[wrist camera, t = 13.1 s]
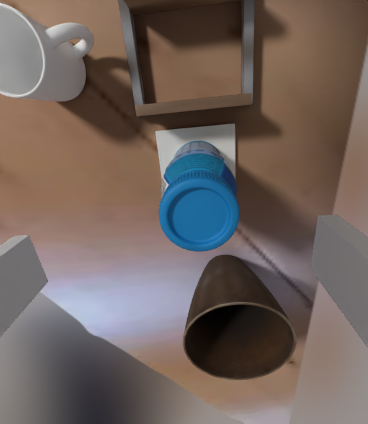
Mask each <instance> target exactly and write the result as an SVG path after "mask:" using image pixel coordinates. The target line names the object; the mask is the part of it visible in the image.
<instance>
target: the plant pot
mask: <svg viewBox="0 0 368 424" xmlns="http://www.w3.org/2000/svg"><path fill="white" fill-rule="evenodd" d="M183 347H184V351H185V354H186V355H187V357H188V359H189V360H190V361H191V363H192V364H193V365H194V366H196V367H197V368H198V369H199V370H201V371H203V372H205V373H207V374H209V375H211V376H214V377H218V378H222V379H228V380H248V379H254V378H258V377H262V376H265V375H268V374H270V373H272V372H274V371H276V370H277V369H279V368H280V367H282V366H283V365H284V364H285V363H286V362H287V361H288V360H289V359H290V358H291V356H292V354H293V353H294V350H295V347H296V333H295V330H294V327H293V325H292V324H291V322H290V321H289V319H288V317H287V316H286V314H285V313H284V311H283V310H282V308H281V307H280V305H279V304H278V302H277V301H276V299H275V298H274V297H273V295H272V294H271V292H270V291H269V290H268V289H267V287H266V286H265V285H264V284H263V283H262V281H261V280H260V279H259V278H258V277H257V276H256V275H255V274H254V273H253V271H252V270H250V269H249V268H248V267H247V266H246V265H245V264H244V263H243V262H242V261H240V260H239V259H238V258H236V257H234V256H231V255H220V256H217V257H215V258H213V259H212V260H211V261H210V262H209V263H208V264H207V266H206V268H205V269H204V271H203V273H202V275H201V277H200V279H199V282H198V284H197V287H196V289H195V292H194V295H193V298H192V302H191V305H190V309H189V313H188V318H187V322H186V327H185V332H184V337H183Z"/></svg>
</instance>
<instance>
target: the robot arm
mask: <svg viewBox="0 0 368 424" xmlns="http://www.w3.org/2000/svg"><path fill="white" fill-rule="evenodd" d="M310 269H311V270H312V271H313V273H314V274H315V275H316V277H317V278H318V280H319V281H320V282H321V284H322V285H323V286H324V287H325V289H326V291H327V292H328V293H329V295H330V296H331V297H332V299H333V300H334V302H335V303H336V304H337V306H338V307H339V309H340V310H341V311H342V313H343V314H344V315H345V317H346V318H347V319H348V321H349V322H350V324H351V325H352V326H353V328H354V329H355V330H356V332H357V333H358V335H359V336H360V337H361V339H362V340H363V341H364V343H365V344H366V346H367V347H368V237H367V236H365V235H364V234H363V233H361V232H360V231H359V230H357V229H356V228H355V227H353V226H352V225H350V224H349V223H348V222H346V221H345V220H344V219H342V218H341V217H340V216H338V215H322V216H318V220H317V227H316V234H315V241H314V247H313V254H312V261H311V268H310ZM47 282H48V280H47V277H46V275H45V272H44V270H43V268H42V265H41V263H40V260H39V258H38V256H37V253H36V251H35V248H34V246H33V244H32V241H31V239H30V236H29V235H23V236H13V237H12V238H10V239H9V240H7V241H6V242H5V243H3V244H2V245H0V337H1V336H2V335H3V333H4V332H5V331H6V330H7V329H8V328H9V326H10V325H11V324H12V323H13V322H14V321H15V319H16V318H17V317H18V316H19V315H20V314H21V312H22V311H23V310H24V309H25V308H26V307H27V306H28V304H29V303H30V302H31V301H32V300H33V299H34V297H35V296H36V295H37V294H38V293H39V292H40V290H41V289H42V288H43V287H44V286H45V285H46V283H47Z"/></svg>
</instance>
